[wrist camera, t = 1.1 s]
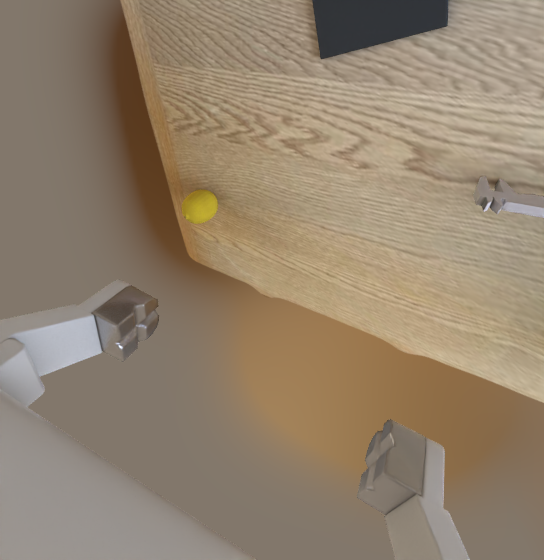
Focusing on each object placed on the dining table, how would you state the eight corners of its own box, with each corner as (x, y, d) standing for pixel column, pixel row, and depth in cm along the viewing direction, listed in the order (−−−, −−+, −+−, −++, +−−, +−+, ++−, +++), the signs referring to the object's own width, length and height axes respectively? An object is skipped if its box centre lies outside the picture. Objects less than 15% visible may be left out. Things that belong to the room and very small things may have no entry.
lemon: (226, 188, 59) (196, 209, 54) (226, 214, 63) (198, 235, 58) (201, 178, 61) (170, 197, 56) (203, 204, 65) (175, 223, 60)
